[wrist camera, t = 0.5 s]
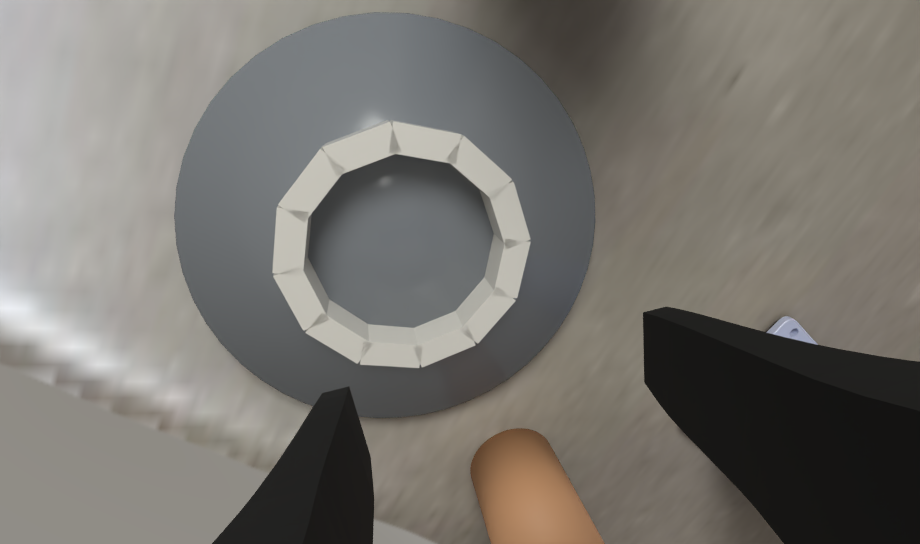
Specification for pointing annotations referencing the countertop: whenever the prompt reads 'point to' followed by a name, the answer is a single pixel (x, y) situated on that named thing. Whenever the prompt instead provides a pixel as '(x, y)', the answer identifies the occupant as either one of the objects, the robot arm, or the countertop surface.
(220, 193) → the tray
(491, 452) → the tan rounded block
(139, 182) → the countertop surface
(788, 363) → the robot arm
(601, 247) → the countertop surface
